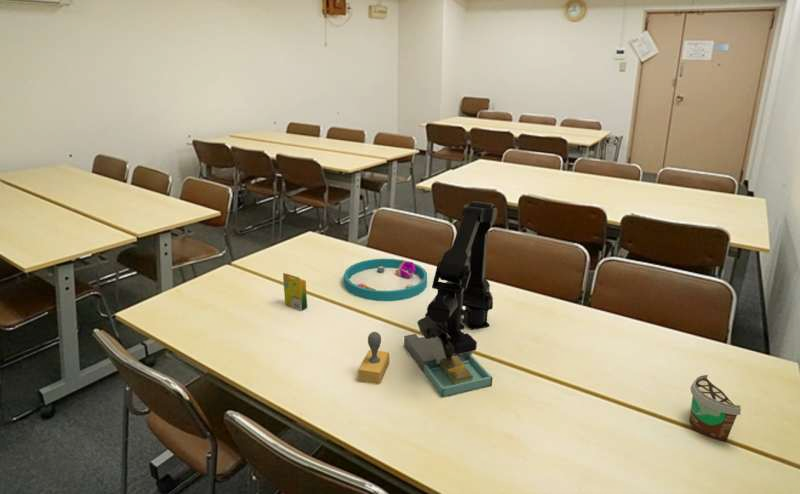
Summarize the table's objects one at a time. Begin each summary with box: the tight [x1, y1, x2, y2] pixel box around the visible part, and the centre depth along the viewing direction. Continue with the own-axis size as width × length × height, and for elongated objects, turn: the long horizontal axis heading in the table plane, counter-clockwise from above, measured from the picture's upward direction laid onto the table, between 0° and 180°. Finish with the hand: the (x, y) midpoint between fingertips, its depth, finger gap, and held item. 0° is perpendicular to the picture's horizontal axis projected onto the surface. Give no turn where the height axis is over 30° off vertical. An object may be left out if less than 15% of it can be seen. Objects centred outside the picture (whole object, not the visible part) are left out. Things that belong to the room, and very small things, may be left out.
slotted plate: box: [403, 333, 473, 374], centre depth 146 cm, size 14×14×4 cm
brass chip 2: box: [448, 367, 473, 385], centre depth 135 cm, size 5×4×2 cm
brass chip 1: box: [440, 356, 464, 375], centre depth 138 cm, size 5×4×2 cm
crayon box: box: [282, 272, 308, 312], centre depth 170 cm, size 7×3×12 cm, turn 58°
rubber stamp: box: [357, 331, 390, 385], centre depth 136 cm, size 10×6×12 cm, turn 167°
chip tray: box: [423, 355, 493, 399], centre depth 135 cm, size 14×11×2 cm
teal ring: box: [343, 258, 428, 302], centre depth 190 cm, size 30×30×6 cm
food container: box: [688, 374, 742, 441], centre depth 119 cm, size 12×6×10 cm, turn 5°
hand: (448, 358), depth 140 cm, fingers closed
